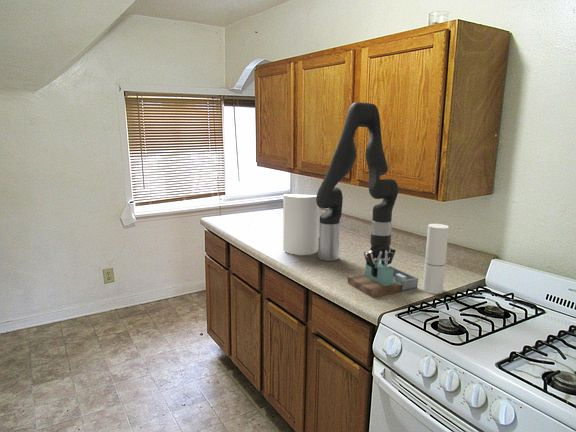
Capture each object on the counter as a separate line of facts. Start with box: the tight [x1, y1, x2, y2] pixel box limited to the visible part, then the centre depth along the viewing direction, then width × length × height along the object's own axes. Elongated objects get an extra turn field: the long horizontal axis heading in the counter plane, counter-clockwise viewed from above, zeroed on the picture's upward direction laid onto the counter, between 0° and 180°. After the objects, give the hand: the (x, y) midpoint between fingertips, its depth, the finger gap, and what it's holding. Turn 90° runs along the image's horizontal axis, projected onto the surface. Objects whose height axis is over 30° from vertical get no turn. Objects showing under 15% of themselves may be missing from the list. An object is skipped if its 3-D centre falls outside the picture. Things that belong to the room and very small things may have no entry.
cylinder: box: [282, 193, 320, 256], centre depth 204 cm, size 17×17×28 cm
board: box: [347, 273, 402, 299], centre depth 159 cm, size 16×13×2 cm
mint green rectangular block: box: [364, 261, 394, 286], centre depth 159 cm, size 12×4×6 cm, turn 27°
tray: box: [387, 265, 419, 292], centre depth 163 cm, size 16×8×4 cm, turn 27°
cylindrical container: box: [422, 223, 450, 295], centre depth 154 cm, size 7×7×25 cm
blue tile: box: [395, 274, 406, 284], centre depth 160 cm, size 4×4×2 cm
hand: (378, 275), depth 159 cm, fingers closed on mint green rectangular block, 3 cm apart
